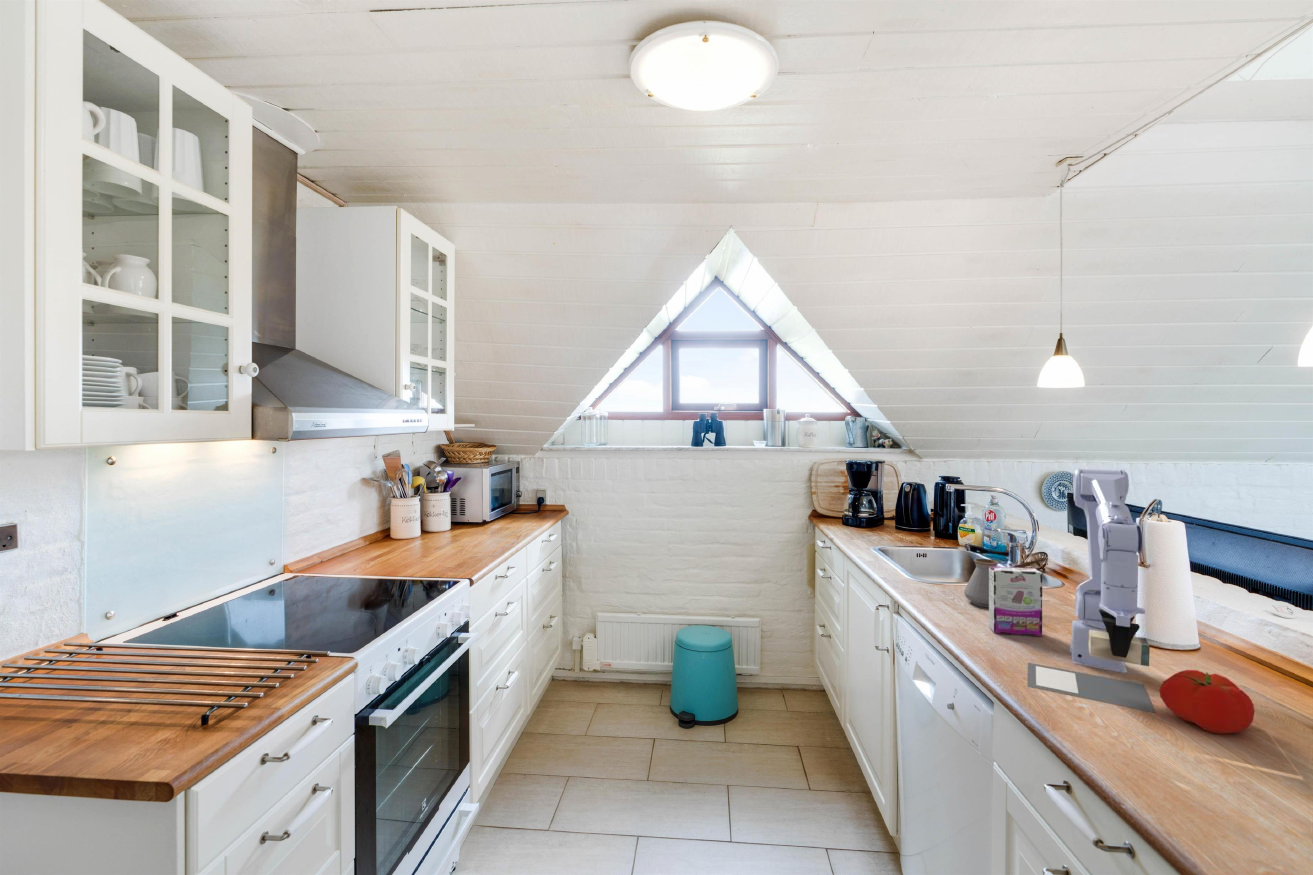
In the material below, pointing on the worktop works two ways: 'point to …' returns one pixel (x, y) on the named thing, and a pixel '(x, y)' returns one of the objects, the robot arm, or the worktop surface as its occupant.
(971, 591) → the coffee pot
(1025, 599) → the candy bar box
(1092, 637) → the green and cream block
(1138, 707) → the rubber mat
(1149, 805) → the worktop surface
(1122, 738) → the worktop surface
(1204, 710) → the tomato
